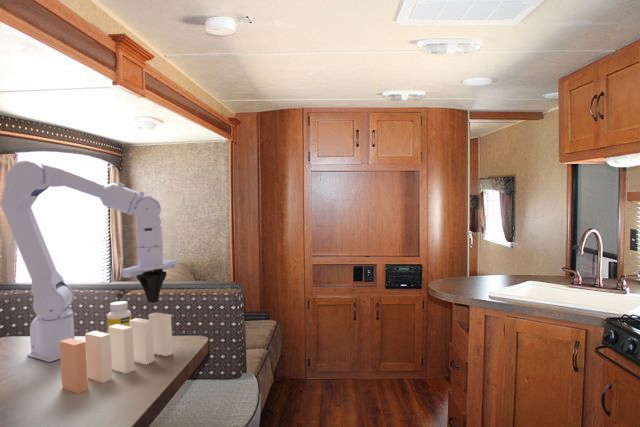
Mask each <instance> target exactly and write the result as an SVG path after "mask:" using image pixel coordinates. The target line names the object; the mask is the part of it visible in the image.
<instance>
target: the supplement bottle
mask: <svg viewBox="0 0 640 427" xmlns="http://www.w3.org/2000/svg"><path fill="white" fill-rule="evenodd" d="M128 307H129V305H128V301H126V300H119V301H113V302H110V303H109V310H110V311H109V312H108V313H107V316H106V319H107V323H106V324H107V328H108V327H109V326H112V325H115V324H120V325H125V326H130V325H129V320H132V313H131V310H129V309H128ZM107 333H108V334H109V332H108V331H107Z"/></svg>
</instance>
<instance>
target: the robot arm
mask: <svg viewBox="0 0 640 427" xmlns="http://www.w3.org/2000/svg"><path fill="white" fill-rule="evenodd" d="M4 180H5V184H4V187H3V188H4V189H3V194H2V198H1V201H0V202H1V203H0V205H1V210H2V212H3V214H4V216H5V219H6V220H7V221H6V222H7V224H8V226H9V228H10V231H11V233H12V235H13V238H14V241H15V243H16V245H17V248H18V250H19V252H20V255H21V258H22V260H23V261H24V262H23V263H24V265H25V267H26V269H27V272H28V274H29V276H30V279H31V288H30V290H31V293H32V296H33V302H32V310H33V311H34V313H35V315H36V317H35V318H33V320H32V322H30V326H29V339H30V340H29V341H30V352H27V353H26V356H28V357H31V358H34V359H37V360H40V361H41V360H42V361H44V362H48V363H50V362H55V361H57V360H61V357H60V341H62V340H65V339H69V338H72V339H75V323H74V311H73V310H72V308H71V306H70V305H72V303H73V301H74V299H75V298H74V296H75V294H74V293H75V292H74V291H73V289H72V287H71V286H69V285H68V284H67V283H66V282H65V280H64V277H63V276H62V275H61V274H60V273H59V272H58V270H57V269H56V266H55V264H54V261H53V259H52V257H51V253H50V251H49V249H48V246H47V244H46V242H45V239H44V236H43V235H42V234H43V233H42V232H41V229H40V227H39V226H40V225H39V224H38V221H37V220H36V218H35V215H34V212H33V210H32V209H33V208H32V206H33V204H34V203H35V201H36V200H37V199H38V198H39V195H41V194H42V193H43V192H45V191H47V190H48V189H49V188H50V187H52V188H53V187H55V188H56V187H67V188H70V189H73V190H76V191H78V192H82V193H85V194H87V195H90V196H93V197H97V198H99V199H100V201H101V204H102V205H103V206H105V207H108V208H110V209H113V210H115V211H118V212H122V213H124V214H126V215H130V216H132V215H134V216H135V217H136V228H135V229H136V245H137V249H136V250H137V265H133V266H130V267H126V268H121V273H122V275H121V277H122V278H127V279H130V278H132V277H135V276H136V279H137V280H138V282H139V283H140V285H141V286H142V288H143V291H144V293H145V296H146V299H147V302H148V303H152V304H153V303H158V302H159V298H160V292H161V289H162V286H163V284H164V281H165V279H166V277H167V271H164V270H169V269H178V260H177V259H168V260H164V252H163V251H164V250H163V249H164V248H163V245H164V244H163V231H162V230H163V229H162V225H161V224H162V220H161V216H160V215H161V211H162V205H161V203H160V201H159V200H157V199H156V198H155V197H153V196H151V195H145V192H144V191H136V190H133V189H131V188H129V187H125V186H126V184H124V183H122V182H118V183H115V182H112V183H109V184H106V185H104V184H101V183H100V182H97V181H94V180H92V179H90V178H87V177H84V176H81V175H79V174H77V173H75V172H72V171H69V170H68V169H65V168H64V169H63V168H61V167H60V168H59V167H56V166H55V167H54V166H50V165H46V164H43V163H36V162H34V161H29V160H22V161H19V162H17V163H15V164H14V165H13V166H12V167H11V168H10V169H9V171H8V172H7V173H6V174H5V176H4Z"/></svg>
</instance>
